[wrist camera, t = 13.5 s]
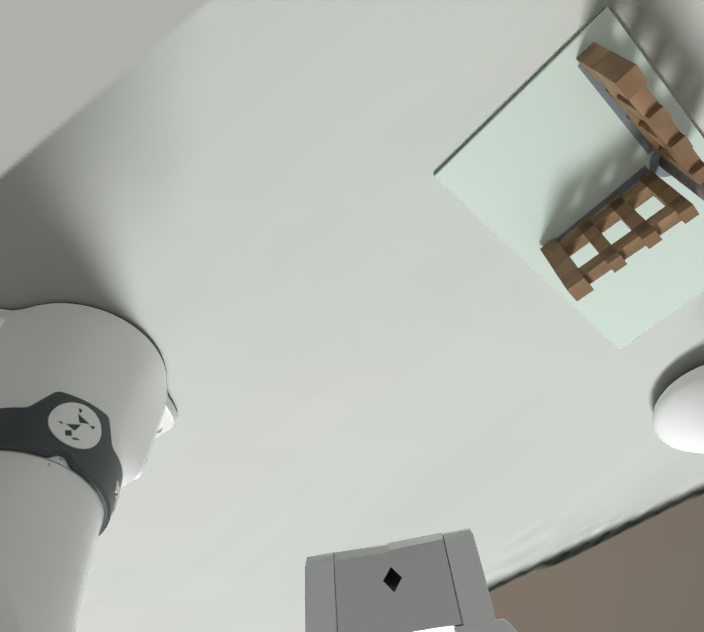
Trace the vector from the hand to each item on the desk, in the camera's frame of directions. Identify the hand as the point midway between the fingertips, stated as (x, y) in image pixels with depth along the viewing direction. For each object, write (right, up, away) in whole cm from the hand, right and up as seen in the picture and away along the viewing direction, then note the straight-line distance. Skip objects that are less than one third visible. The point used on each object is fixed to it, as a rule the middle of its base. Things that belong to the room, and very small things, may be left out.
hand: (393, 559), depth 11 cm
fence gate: (+18, +12, +35) cm, 41 cm away
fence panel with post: (+19, +19, +31) cm, 41 cm away
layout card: (+19, +13, +36) cm, 43 cm away
